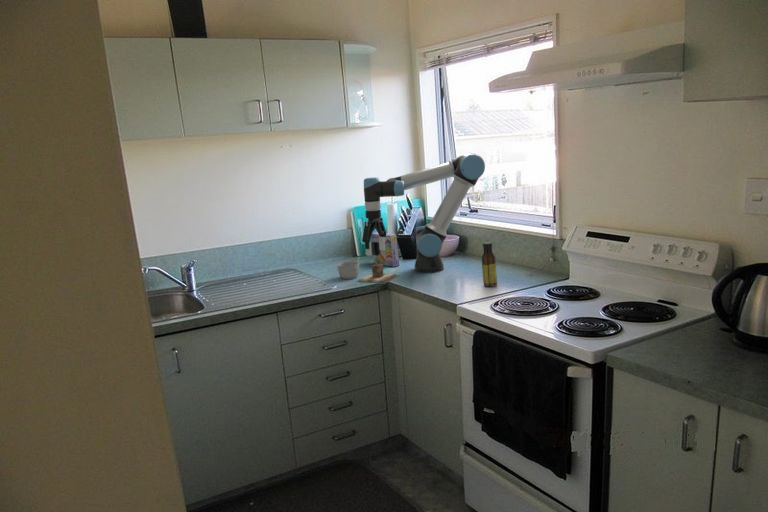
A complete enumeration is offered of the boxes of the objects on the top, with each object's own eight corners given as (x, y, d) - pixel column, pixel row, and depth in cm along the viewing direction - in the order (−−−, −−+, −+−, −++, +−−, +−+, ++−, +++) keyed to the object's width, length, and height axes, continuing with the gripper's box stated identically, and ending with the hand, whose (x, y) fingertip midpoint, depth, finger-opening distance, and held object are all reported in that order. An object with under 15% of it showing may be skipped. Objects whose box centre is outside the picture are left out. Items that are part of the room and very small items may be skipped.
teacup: (359, 280, 288) (357, 264, 286) (337, 281, 288) (336, 266, 287) (360, 273, 302) (359, 258, 300) (340, 274, 302) (338, 259, 300)
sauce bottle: (498, 283, 263) (496, 241, 259) (496, 287, 257) (494, 244, 253) (483, 283, 265) (482, 241, 261) (481, 287, 259) (479, 244, 255)
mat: (399, 276, 290) (399, 275, 290) (384, 284, 276) (384, 283, 276) (372, 274, 298) (372, 273, 297) (356, 282, 284) (356, 281, 284)
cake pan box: (371, 262, 324) (369, 232, 321) (379, 261, 327) (376, 230, 324) (392, 267, 309) (390, 235, 305) (400, 266, 312) (397, 233, 308)
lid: (395, 276, 289) (394, 262, 288) (383, 282, 278) (382, 268, 277) (373, 274, 295) (372, 261, 294) (360, 281, 284) (359, 267, 283)
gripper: (378, 206, 292) (381, 247, 296) (353, 213, 271) (356, 257, 275) (391, 206, 288) (394, 247, 293) (366, 213, 267) (369, 258, 272)
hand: (375, 252), depth 284 cm, fingers open, 13 cm apart
